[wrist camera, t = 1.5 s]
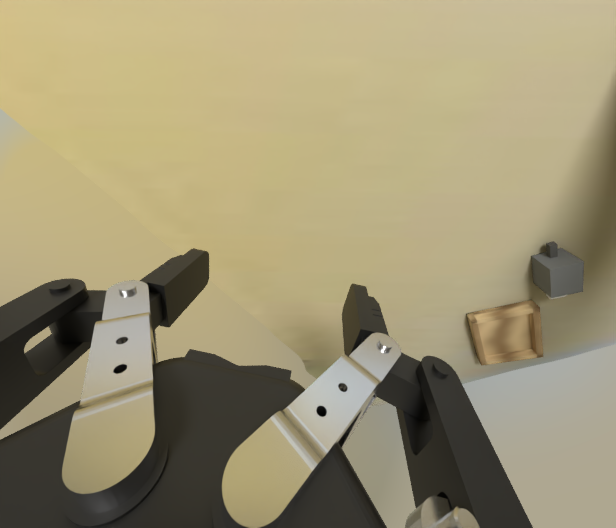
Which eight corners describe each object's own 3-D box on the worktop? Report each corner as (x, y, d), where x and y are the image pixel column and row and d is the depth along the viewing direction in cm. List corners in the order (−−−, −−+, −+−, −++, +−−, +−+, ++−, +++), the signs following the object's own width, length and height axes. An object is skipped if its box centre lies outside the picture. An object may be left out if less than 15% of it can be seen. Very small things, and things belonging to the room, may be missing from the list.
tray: (531, 299, 43) (539, 307, 42) (535, 347, 49) (543, 356, 47) (466, 313, 47) (471, 321, 46) (477, 356, 53) (481, 365, 51)
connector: (560, 235, 37) (584, 247, 33) (561, 285, 41) (582, 301, 37) (530, 244, 38) (549, 257, 35) (533, 291, 43) (551, 307, 39)
